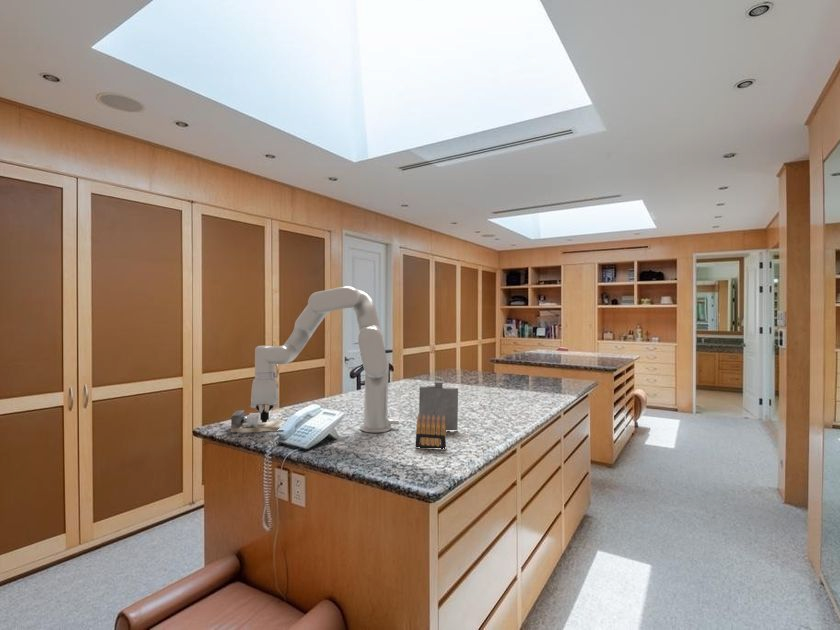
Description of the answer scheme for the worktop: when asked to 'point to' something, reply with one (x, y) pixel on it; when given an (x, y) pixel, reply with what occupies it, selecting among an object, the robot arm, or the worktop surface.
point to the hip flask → (439, 404)
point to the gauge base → (242, 427)
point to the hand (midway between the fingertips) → (264, 421)
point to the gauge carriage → (252, 420)
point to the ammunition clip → (430, 433)
